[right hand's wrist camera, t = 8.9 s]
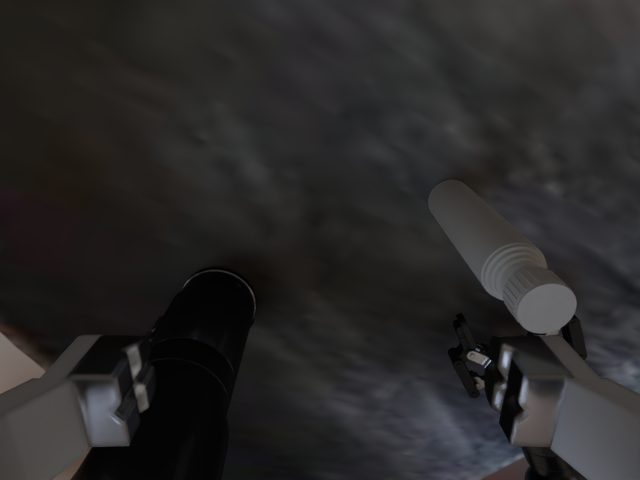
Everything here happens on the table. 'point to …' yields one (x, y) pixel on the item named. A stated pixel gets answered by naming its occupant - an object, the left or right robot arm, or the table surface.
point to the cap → (539, 299)
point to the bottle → (482, 236)
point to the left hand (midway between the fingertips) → (497, 303)
